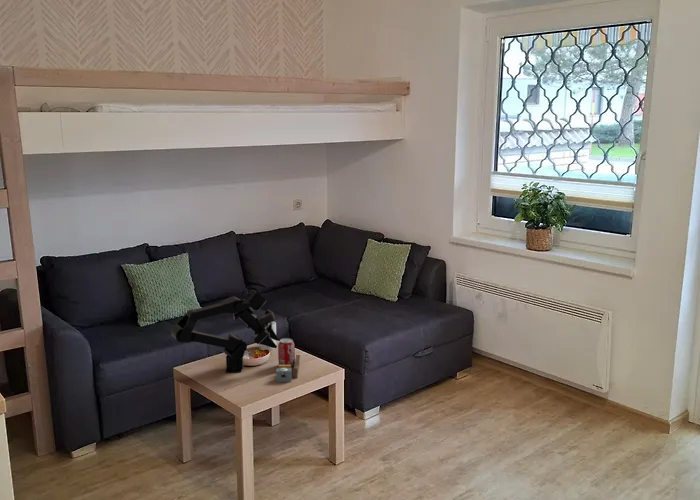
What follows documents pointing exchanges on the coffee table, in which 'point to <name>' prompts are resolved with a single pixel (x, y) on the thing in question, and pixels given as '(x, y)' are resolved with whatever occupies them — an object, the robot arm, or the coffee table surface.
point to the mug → (271, 338)
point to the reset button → (284, 367)
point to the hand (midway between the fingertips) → (277, 343)
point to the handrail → (296, 366)
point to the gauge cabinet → (283, 375)
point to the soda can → (286, 352)
